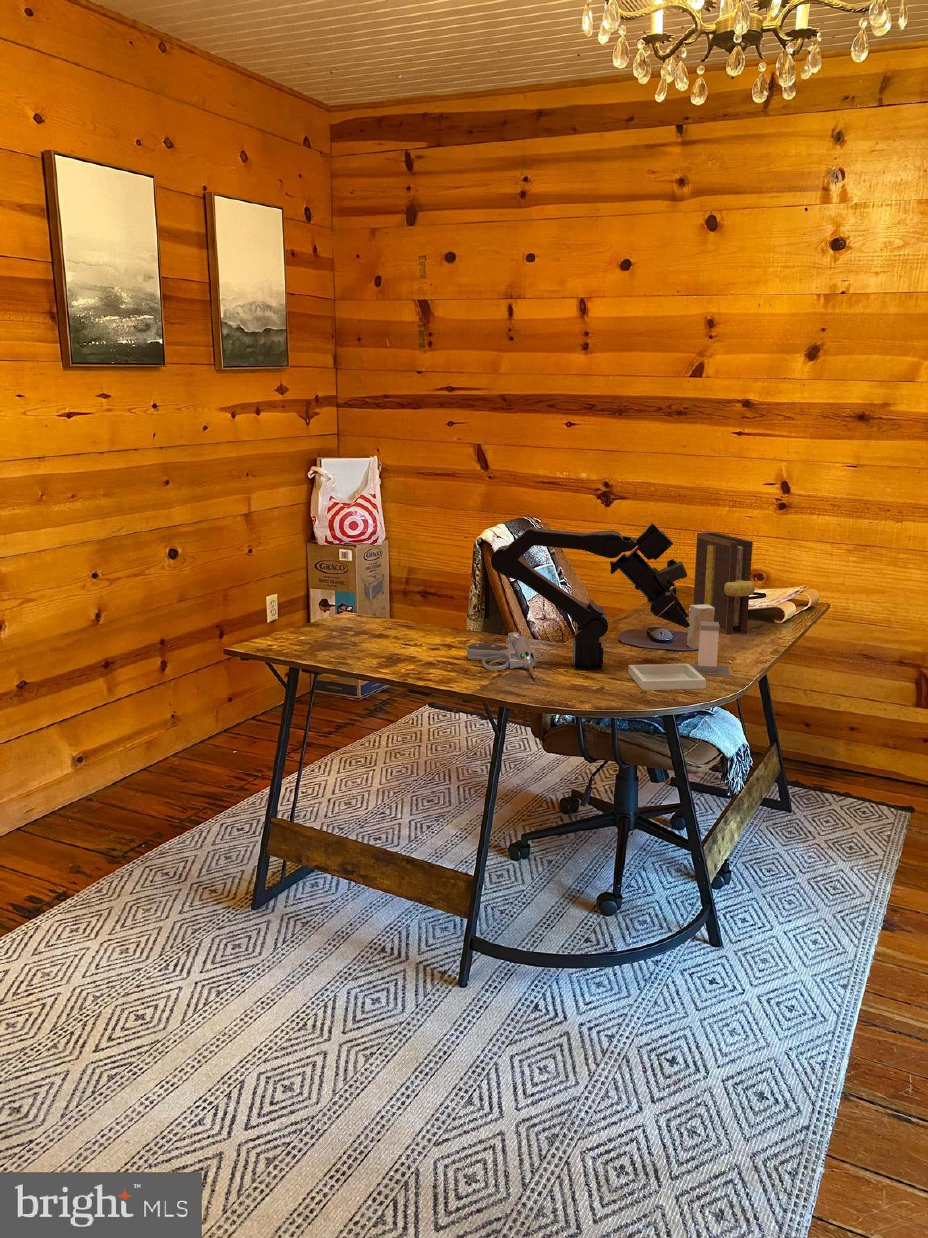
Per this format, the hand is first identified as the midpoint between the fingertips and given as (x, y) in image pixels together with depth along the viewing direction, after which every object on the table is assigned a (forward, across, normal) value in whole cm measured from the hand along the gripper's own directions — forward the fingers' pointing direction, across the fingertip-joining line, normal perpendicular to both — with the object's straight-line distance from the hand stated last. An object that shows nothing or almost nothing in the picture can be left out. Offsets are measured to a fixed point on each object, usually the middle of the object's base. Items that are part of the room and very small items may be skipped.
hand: (687, 622), depth 223 cm
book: (+16, +46, +1) cm, 49 cm away
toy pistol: (-22, -3, +39) cm, 45 cm away
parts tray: (+5, -11, +12) cm, 17 cm away
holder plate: (+12, 0, +5) cm, 13 cm away
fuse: (+11, 0, +4) cm, 12 cm away
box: (+11, +22, +5) cm, 25 cm away
